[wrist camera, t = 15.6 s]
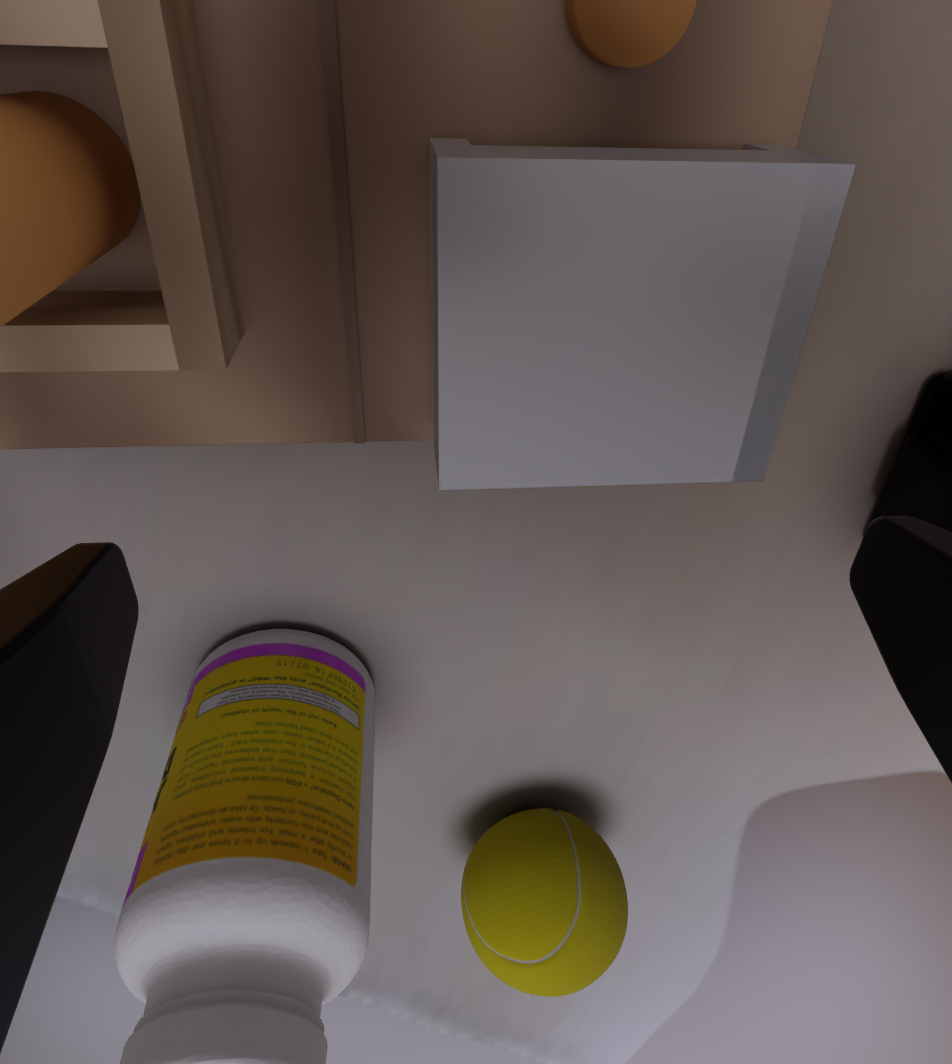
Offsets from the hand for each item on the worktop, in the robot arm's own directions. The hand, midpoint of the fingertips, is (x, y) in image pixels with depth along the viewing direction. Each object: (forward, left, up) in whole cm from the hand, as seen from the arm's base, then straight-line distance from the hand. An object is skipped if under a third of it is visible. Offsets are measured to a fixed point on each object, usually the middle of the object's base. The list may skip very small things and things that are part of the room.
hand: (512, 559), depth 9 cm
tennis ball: (-4, +25, -13) cm, 28 cm away
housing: (-4, 0, -11) cm, 11 cm away
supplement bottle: (+6, +15, -13) cm, 21 cm away
